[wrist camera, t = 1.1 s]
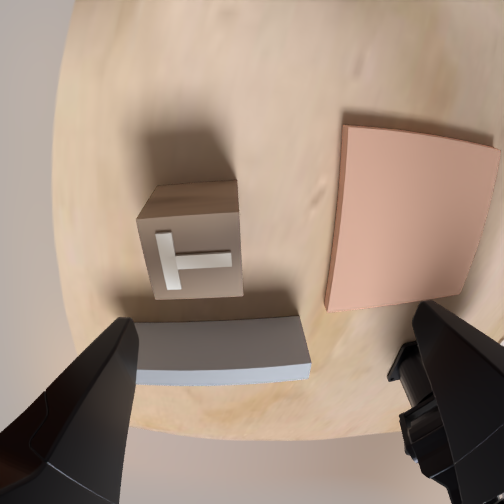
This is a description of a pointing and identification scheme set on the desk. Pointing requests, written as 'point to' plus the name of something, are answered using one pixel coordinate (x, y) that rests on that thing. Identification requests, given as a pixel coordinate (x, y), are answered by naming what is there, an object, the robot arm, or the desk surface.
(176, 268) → the walnut cube
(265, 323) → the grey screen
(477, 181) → the mat
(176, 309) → the desk surface
